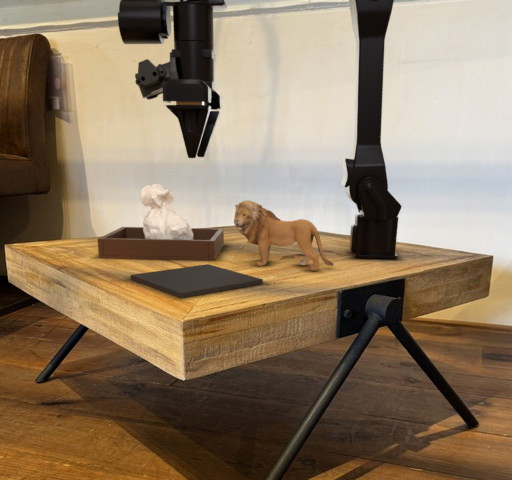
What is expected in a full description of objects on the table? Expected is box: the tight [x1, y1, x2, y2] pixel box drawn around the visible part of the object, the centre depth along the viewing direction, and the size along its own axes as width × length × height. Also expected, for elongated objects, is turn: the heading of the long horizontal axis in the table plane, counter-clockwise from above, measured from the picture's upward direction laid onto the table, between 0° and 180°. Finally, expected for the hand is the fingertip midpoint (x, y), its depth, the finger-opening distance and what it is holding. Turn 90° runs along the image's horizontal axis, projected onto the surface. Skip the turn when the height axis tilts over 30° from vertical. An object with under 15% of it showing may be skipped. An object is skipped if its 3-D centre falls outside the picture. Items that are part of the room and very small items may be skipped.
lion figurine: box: [233, 200, 334, 271], centre depth 81 cm, size 15×5×9 cm, turn 74°
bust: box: [139, 183, 193, 240], centre depth 91 cm, size 12×8×11 cm
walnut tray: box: [97, 226, 225, 261], centre depth 92 cm, size 18×14×3 cm
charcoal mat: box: [130, 263, 264, 299], centre depth 72 cm, size 12×12×1 cm
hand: (196, 157), depth 88 cm, fingers open, 9 cm apart
